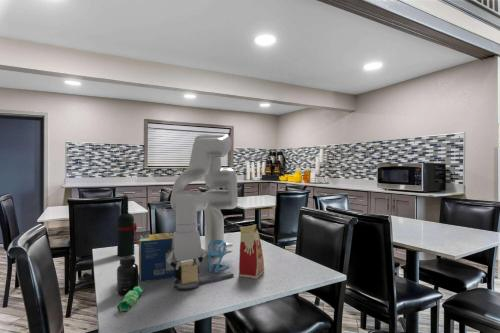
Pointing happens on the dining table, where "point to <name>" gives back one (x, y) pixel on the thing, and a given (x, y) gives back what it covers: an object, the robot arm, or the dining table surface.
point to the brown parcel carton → (188, 272)
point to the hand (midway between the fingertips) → (186, 277)
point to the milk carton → (250, 253)
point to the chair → (217, 254)
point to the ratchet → (202, 281)
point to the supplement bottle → (127, 275)
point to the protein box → (155, 256)
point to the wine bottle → (126, 231)
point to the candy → (130, 298)
